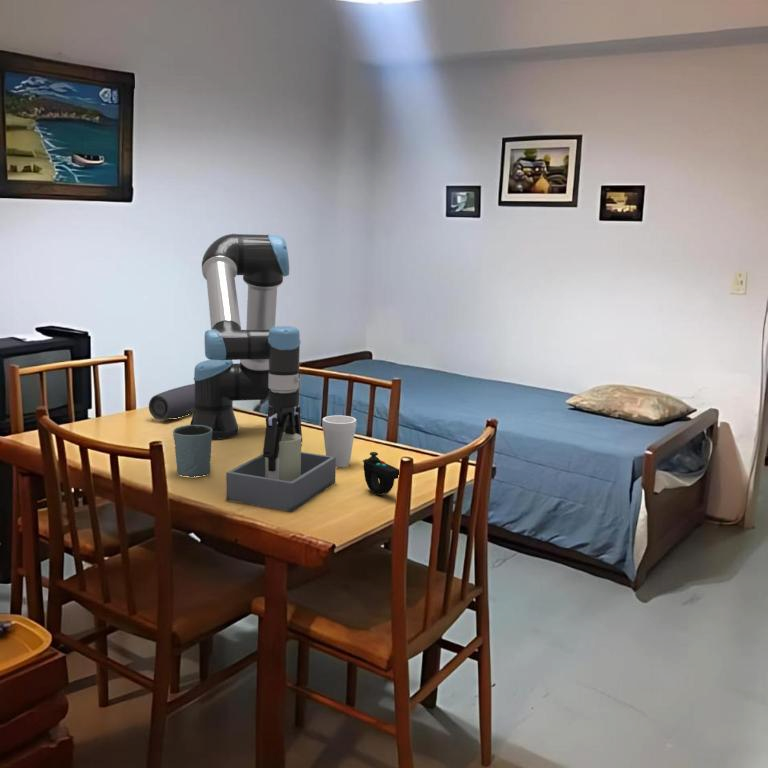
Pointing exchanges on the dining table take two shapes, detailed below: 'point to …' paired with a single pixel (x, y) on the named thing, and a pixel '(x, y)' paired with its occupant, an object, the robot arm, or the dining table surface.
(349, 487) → the dining table surface
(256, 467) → the box
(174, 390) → the bluetooth speaker
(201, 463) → the blue-grey textured cup
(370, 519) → the dining table surface
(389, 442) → the dining table surface
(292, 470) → the can
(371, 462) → the controller
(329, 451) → the foam cup
